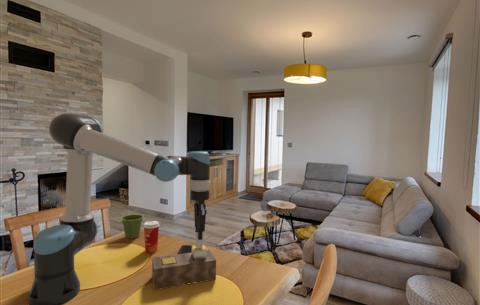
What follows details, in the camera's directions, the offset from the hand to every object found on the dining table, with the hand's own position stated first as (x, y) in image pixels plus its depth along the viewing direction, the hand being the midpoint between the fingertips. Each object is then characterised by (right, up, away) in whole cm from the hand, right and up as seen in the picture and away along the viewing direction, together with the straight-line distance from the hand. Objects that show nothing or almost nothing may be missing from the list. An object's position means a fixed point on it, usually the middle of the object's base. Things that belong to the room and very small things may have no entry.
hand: (199, 246), depth 111 cm
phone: (-10, -12, +22) cm, 27 cm away
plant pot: (-44, -9, +41) cm, 60 cm away
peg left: (-12, -11, -4) cm, 17 cm away
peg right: (0, -7, 0) cm, 8 cm away
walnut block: (-6, -12, -1) cm, 14 cm away
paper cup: (-27, -11, +23) cm, 38 cm away
